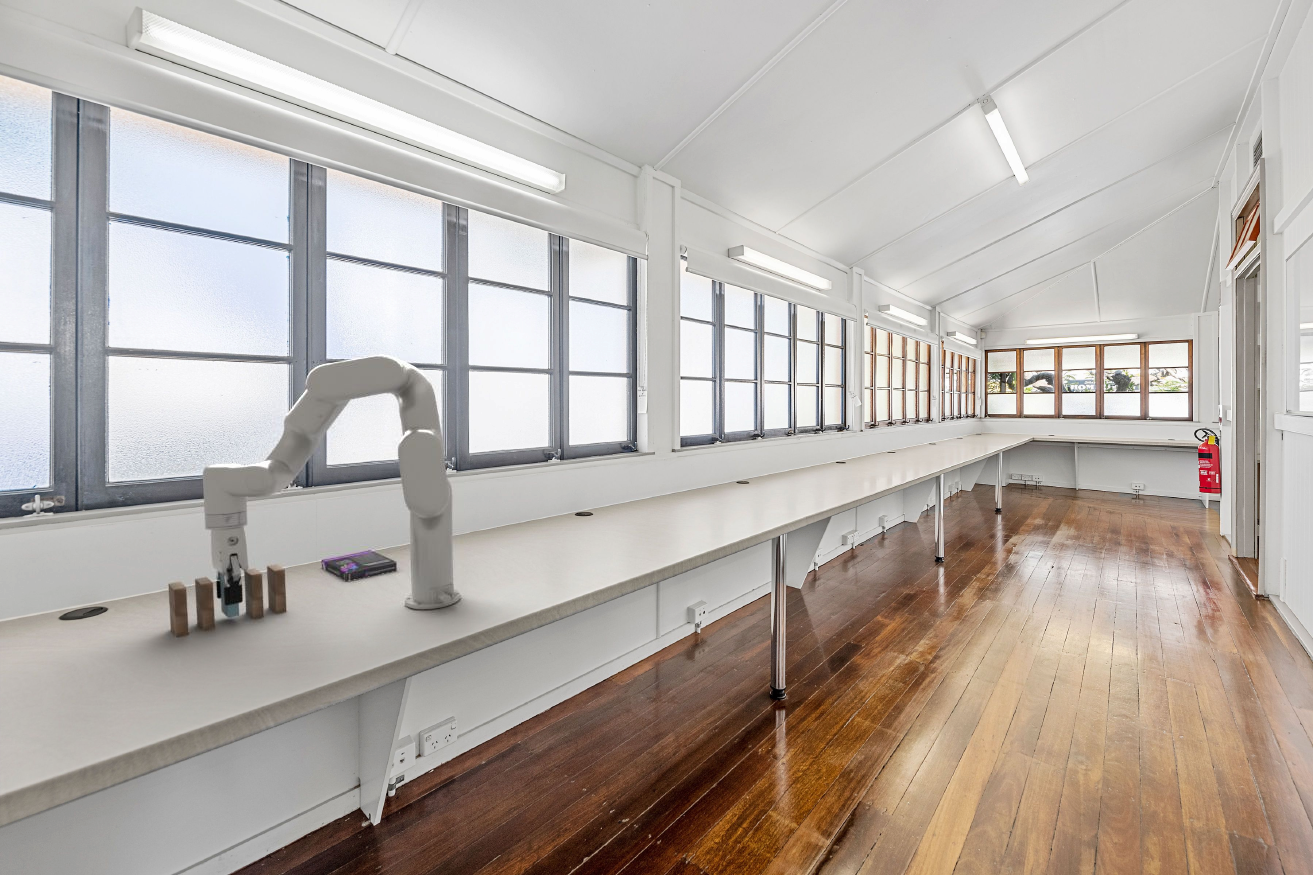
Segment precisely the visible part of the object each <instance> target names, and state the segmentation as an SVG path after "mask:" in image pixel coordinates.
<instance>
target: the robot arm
mask: <svg viewBox="0 0 1313 875" xmlns="http://www.w3.org/2000/svg"><path fill="white" fill-rule="evenodd" d="M432 385H433V384H431V381H430V380H429V378H428V377H427V376H426V375H425V373H424V372H422V371H421V370H420V369H419V368H417V367H416V366H414V365H412V364H410V363H408V362H405V361H403V360H402V359H401V360H400V359H399V358H397V357H394V356H391V355H389V354H388V355H386V354H377V355H370V356H366V357H361V358H360V357H358V358H354V359H349V360H342V361H336V362H332V363H331V362H330V363H324V364H321V365H318V366H316V367H314V368H313V369H311V371H310V372H309V373H308V375H307V377H306V379H305V388H306V390H305V391H304V392H303V394H301V396H300V397H299V399H298V400H297V401H296V403H295V404H294V405H293V406H292V408H291V409H290V410H289V412H287V414H286V415H285V417H284V420H283V432H282V435H281V437H280V439H279V440H278V443H277V444H276V445H275V447H274V448H273V450H272V451H271V452H270V453H269V454H268V456H267V457H266V459H264V461H261V462H258V463H255V464H254V463H253V464H249V465H248V464H247V465H242V464H240V463H218V464H209V465H207V466H206V467H204V469H203V472H202V481H203V482H202V483H203V484H202V486H203V505H204V506H203V509H204V529H205V530H209V531H210V536H211V537H210V551H211V552H210V553H211V554H210V555H211V563H212V567H213V569H215V570H216V581H215V584H216V598H217V599H219V600H221V587H220V573H222V574H224V578H225V585H226V587H224V603H225V605H226V606H228V605H232V604H237V603H239V604H241V603H243V601H244V600H243V597H244V596H243V581H242V575H241V574H242V571H243V572H244V571H246V570H248V569H249V559H248V558H249V557H248V556H249V555H248V547H247V539H246V538H247V536H246V532H245V527H246V526H247V525H248V510H247V509H248V508H247V507H248V506H247V498H253V499H255V498H256V499H261V498H266V497H269V496H272V495H274V494H276V493H278V492H281V491H282V490H284V489H286V488H287V487H289V485H291V484H292V482H293V481H294V479H295V478H296V477H297V476H298V474H299V473H300V472H301V470H302V469H303V468H304V467H305V465H306V464H307V463H308V461H309V460H310V458H311V457H312V455H313V454H314V452H315V450H316V449H317V447H318V446H319V445H320V443H321V440H322V439H323V437H324V436H325V435H326V433H327V431H328V430H329V429H330V428H331V426H332V425H333V424H334V422H335V421H336V420H337V418H338V417H339V416H340V414H341V413H342V412H343V411H344V409H345V408H346V407H347V405H349V402H350V401H351V400H355V399H361V398H366V397H370V396H371V397H372V396H376V395H383V394H392V395H393V396H394V397H395V398H396V400H397V403H398V411H399V412H398V413H399V418H400V422H401V424H400V425H401V431H402V437H401V439H400V441H399V443H398V447H397V458H398V459H397V460H398V466H399V473H400V480H401V485H402V486H401V487H402V492H403V499H404V504H405V506H406V507H407V509H408V511H409V530H410V532H409V533H410V535H409V536H410V545H409V546H410V575H411V581H410V582H411V594H409V595H408V596H406V597H405V599H404V605H405V606H406V607H407V608H410V609H414V610H432V609H433V610H434V609H440V608H444V607H448V606H451V605H454V604H456V603H457V602H459V600H460V599H461V592H460V591H459V590H457V589H455V587H454V584H455V583H454V556H453V555H454V553H453V552H454V549H453V489H452V488H453V487H452V484H451V482H450V480H449V479H448V476H447V470H446V461H445V442H444V438H443V434H442V428H441V422H440V415H439V411H438V410H439V409H438V404H437V399H436V393H435V391H434V388H433V386H432ZM231 569H232V572H227V570H231ZM241 570H242V571H241ZM229 575H232V576H230V578H229Z"/></svg>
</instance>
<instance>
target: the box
mask: <svg viewBox="0 0 1313 875" xmlns="http://www.w3.org/2000/svg"><path fill="white" fill-rule="evenodd" d="M321 568H322V569H323V570H324V571H326V572H328V573H330V574H332V575H333V574H334V576H335V575H336V576H335V577H337V576H338V577H337V578H339V577H340V578H339V579H340V580H342V581H344V580H345V582H346V581H347V582H349V581H348V580H351V581H355V580H354V579H356V580H360V579H359V578H361V579H364V578H363V577H365V578H369V577H368V576H370V577H374V575H375V576H378V575H379V574H380V575H382V573H384V574H387V572H389V573H393V572H392V571H394V572H397V569H398V568H397V561H395V560H393V559H392V558H389V557H386V556H384V555H382V554H380V553H378V552H375V551H373V550H370V549H369V550H365V551H361V552H356V553H354V552H353V553H350V554H345V555H341V556H334V557H329V558H324V559H321ZM380 575H379V576H380Z"/></svg>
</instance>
